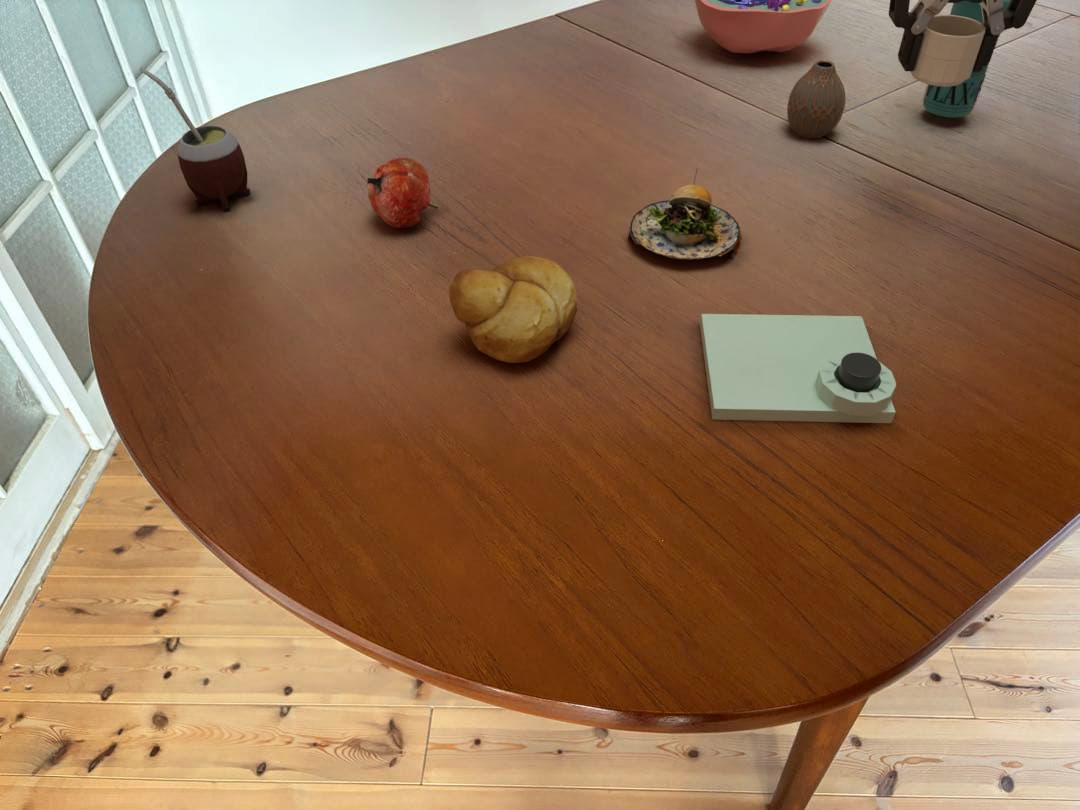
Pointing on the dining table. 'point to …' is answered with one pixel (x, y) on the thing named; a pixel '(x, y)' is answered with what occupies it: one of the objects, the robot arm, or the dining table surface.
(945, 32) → the cup
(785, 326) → the scale
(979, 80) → the beverage bottle
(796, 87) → the vase
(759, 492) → the dining table surface
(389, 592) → the dining table surface
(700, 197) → the burger
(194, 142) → the mate gourd
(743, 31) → the cell model
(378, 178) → the pomegranate
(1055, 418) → the dining table surface
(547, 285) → the bread roll
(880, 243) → the dining table surface
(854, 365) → the button
